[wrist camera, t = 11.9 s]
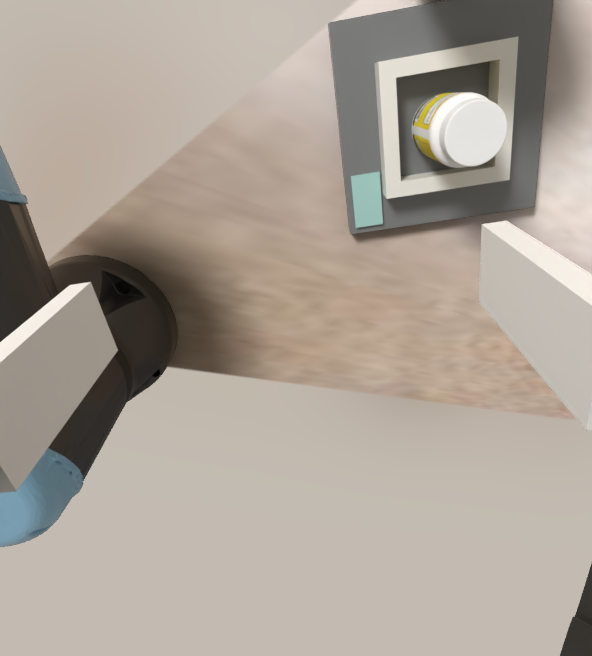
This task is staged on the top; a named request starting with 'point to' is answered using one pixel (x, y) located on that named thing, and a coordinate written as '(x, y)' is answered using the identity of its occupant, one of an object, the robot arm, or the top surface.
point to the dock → (424, 82)
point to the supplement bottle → (459, 129)
